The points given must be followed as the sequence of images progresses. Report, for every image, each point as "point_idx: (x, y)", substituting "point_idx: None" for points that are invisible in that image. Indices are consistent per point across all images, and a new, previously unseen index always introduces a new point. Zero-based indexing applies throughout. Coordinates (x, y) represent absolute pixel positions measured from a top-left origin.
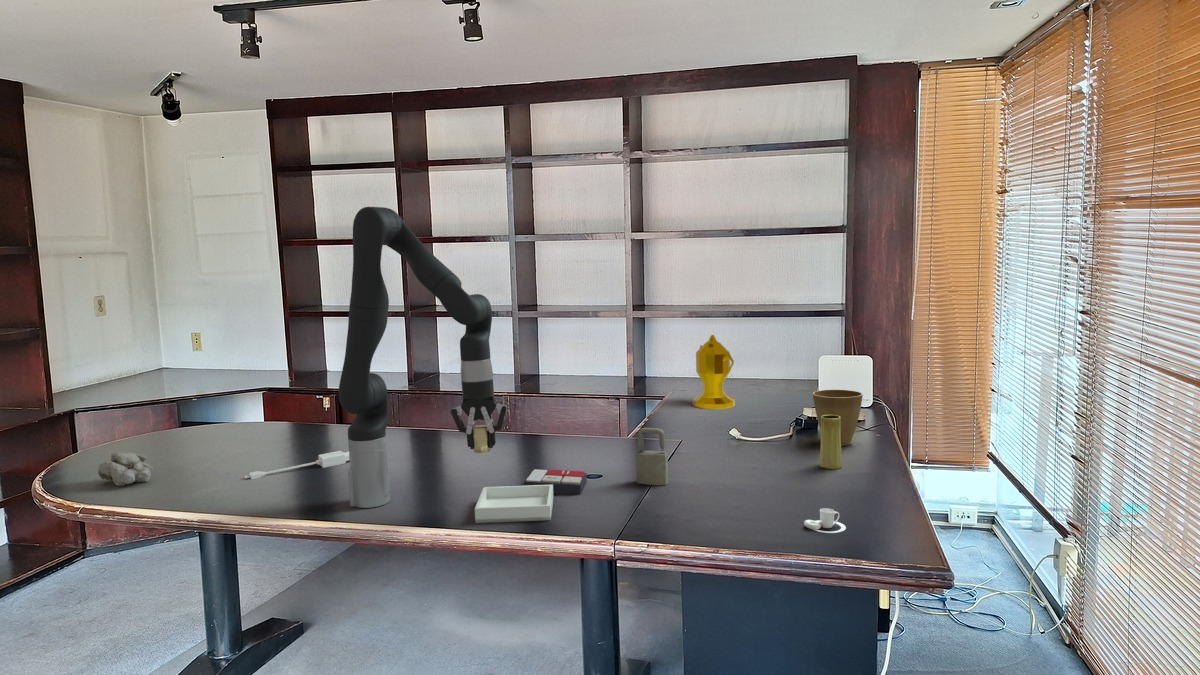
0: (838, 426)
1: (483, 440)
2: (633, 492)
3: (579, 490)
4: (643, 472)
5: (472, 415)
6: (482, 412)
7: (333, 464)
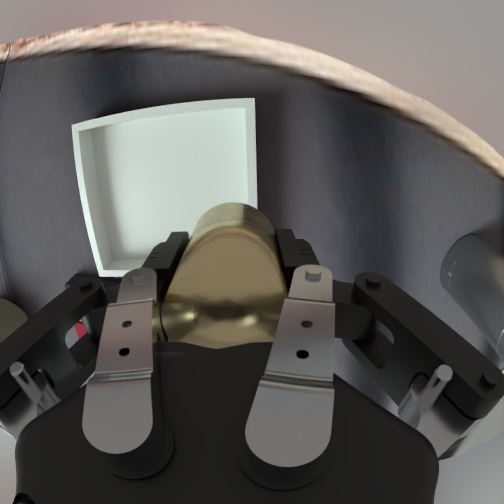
0: None
1: (206, 230)
2: (15, 274)
3: (71, 278)
4: (8, 317)
5: (289, 366)
6: (143, 383)
7: None
